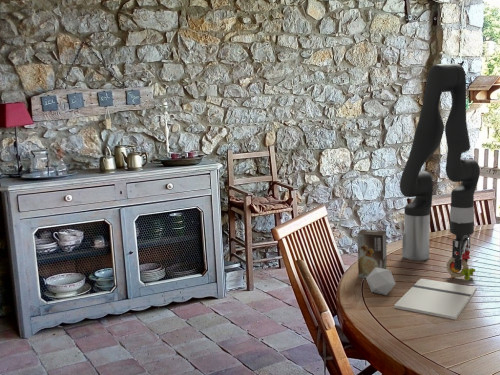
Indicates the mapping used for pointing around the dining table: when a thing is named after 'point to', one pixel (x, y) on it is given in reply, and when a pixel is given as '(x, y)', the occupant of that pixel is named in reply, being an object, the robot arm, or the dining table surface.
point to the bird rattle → (465, 270)
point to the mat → (436, 298)
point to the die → (380, 281)
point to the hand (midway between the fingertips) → (461, 265)
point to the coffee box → (371, 251)
